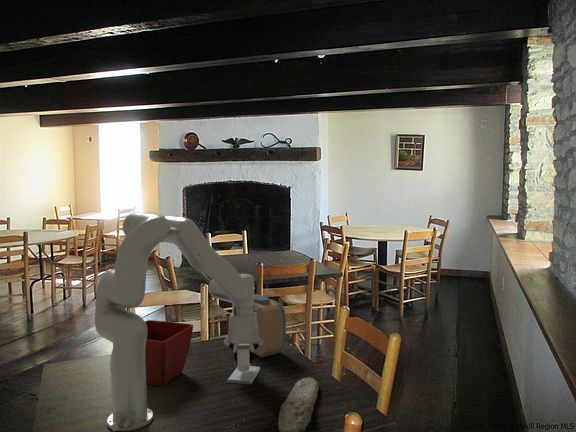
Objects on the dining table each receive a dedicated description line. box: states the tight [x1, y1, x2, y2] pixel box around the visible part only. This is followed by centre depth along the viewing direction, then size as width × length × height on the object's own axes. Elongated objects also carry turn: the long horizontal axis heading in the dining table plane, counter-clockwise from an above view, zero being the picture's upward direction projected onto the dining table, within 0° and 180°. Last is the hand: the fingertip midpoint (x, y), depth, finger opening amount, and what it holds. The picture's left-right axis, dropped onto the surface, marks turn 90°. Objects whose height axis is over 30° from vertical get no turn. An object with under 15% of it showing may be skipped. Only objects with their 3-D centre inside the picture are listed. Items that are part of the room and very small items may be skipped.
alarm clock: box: [254, 293, 287, 358], centre depth 199 cm, size 21×10×22 cm, turn 37°
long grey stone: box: [277, 376, 319, 432], centre depth 153 cm, size 35×5×10 cm
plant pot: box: [144, 319, 194, 387], centre depth 175 cm, size 19×19×17 cm
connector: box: [237, 344, 251, 372], centre depth 177 cm, size 11×4×7 cm, turn 0°
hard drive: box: [227, 365, 261, 385], centre depth 177 cm, size 2×8×12 cm
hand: (244, 361), depth 177 cm, fingers closed on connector, 4 cm apart
